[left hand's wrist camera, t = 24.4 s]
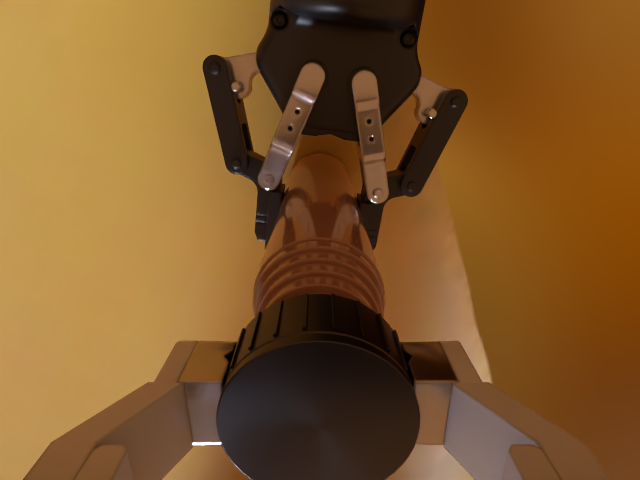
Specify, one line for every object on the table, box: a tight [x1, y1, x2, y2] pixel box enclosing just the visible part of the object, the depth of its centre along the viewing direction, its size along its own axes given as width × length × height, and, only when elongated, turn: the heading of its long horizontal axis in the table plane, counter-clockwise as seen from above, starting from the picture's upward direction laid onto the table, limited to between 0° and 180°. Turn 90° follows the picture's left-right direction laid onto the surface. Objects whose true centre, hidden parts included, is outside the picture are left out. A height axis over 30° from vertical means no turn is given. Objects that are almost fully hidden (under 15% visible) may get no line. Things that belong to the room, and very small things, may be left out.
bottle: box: [253, 153, 385, 318], centre depth 20 cm, size 4×4×22 cm
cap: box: [216, 293, 420, 480], centre depth 9 cm, size 4×4×2 cm
